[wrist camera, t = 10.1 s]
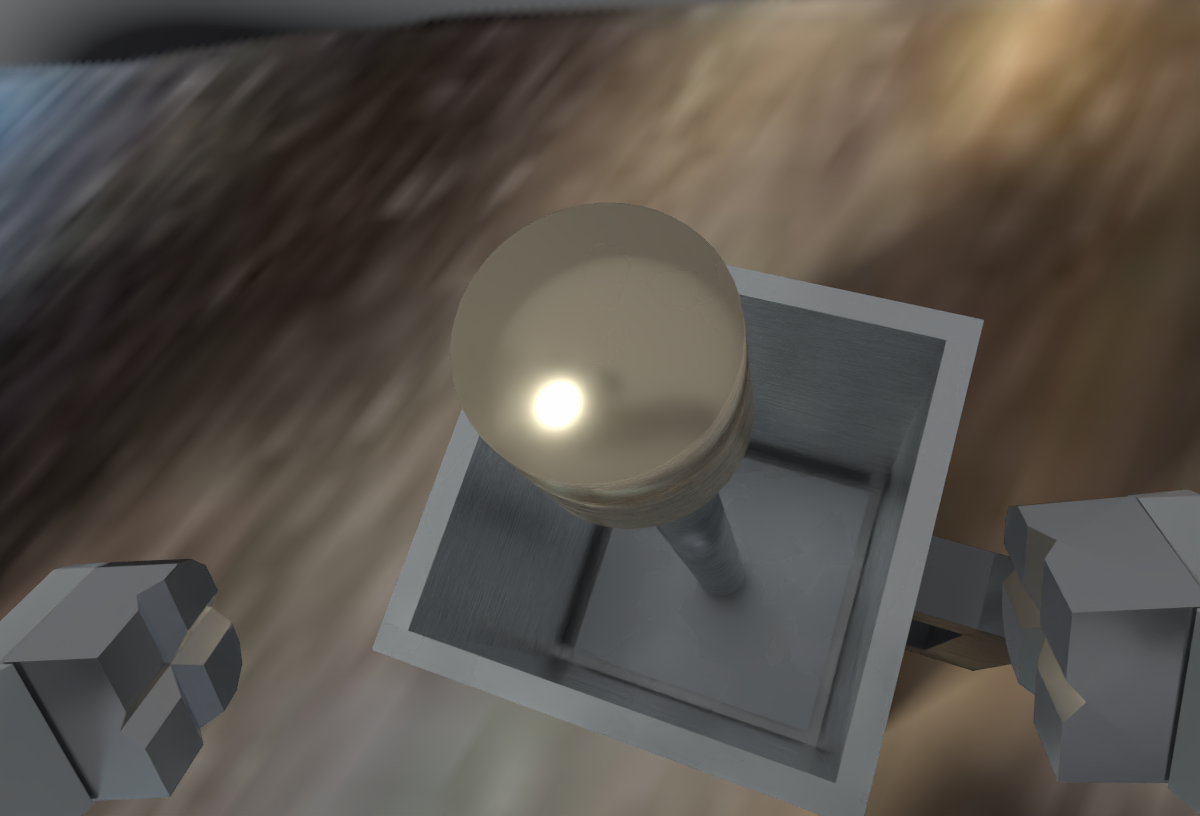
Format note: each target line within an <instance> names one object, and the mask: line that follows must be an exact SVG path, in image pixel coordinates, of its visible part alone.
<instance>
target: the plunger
mask: <svg viewBox="0 0 1200 816" xmlns="http://www.w3.org/2000/svg"><path fill="white" fill-rule="evenodd" d="M450 361H451V372H452V378H453V382H454V387H455V391H456V394H457V396H458V399H459V402H460V404H461V407H462V409H463V411H464V413H465V414H466V416H467V418H468V420H469V422H470V423H471V425H472V426H473V427H474V429H475V430H476V431H477V433H478V434H479V435H480V437H481V438H482V439H483V440H484V441H485V442H486V443H487V444H488V445H489V446H490V447H491V448H492V449H493V450H494V451H495V452H497V453H498V454H499V455H500V456H501V457H503V458H504V459H505V460H506V461H507V462H508V463H510V464H511V465H512V466H513V467H514V468H516V469H517V470H518V471H519V472H520V473H521V474H523V475H524V476H525V477H526V478H527V479H529V480H530V481H531V482H532V483H533V484H534V485H536V486H537V487H538V488H539V489H540V490H541V491H543V492H544V493H545V494H546V495H547V496H549V497H550V498H551V499H552V500H553V501H554V502H556V503H557V504H558V505H560V506H561V507H562V508H564V509H565V510H567V511H568V512H570V513H572V514H574V515H575V516H577V517H579V518H581V519H584V520H586V521H589V522H592V523H594V524H598V525H602V526H606V527H611V528H613V530H612V533H611V536H610V540H609V543H608V546H607V549H606V552H605V555H604V558H603V561H602V564H601V567H600V570H599V573H598V577H597V580H596V583H595V586H594V589H593V592H592V595H591V598H590V601H589V604H588V607H587V611H586V614H585V617H584V620H583V623H582V626H581V629H580V632H579V635H578V638H577V641H576V644H575V648H574V651H575V652H578V653H580V654H583V655H586V656H589V657H592V658H595V659H598V660H601V661H604V662H607V663H609V664H612V665H615V666H618V667H621V668H624V669H627V670H630V671H633V672H636V673H638V674H641V675H644V676H647V677H650V678H653V679H656V680H659V681H662V682H665V683H667V684H670V685H673V686H676V687H679V688H682V689H685V690H688V691H691V692H694V693H696V694H699V695H702V696H705V697H708V698H711V699H714V700H717V701H720V702H723V703H725V704H728V705H731V706H734V707H737V708H740V709H743V710H746V711H749V712H752V713H754V714H757V715H760V716H763V717H766V718H769V719H772V720H775V721H778V722H781V723H783V724H786V725H789V726H792V727H795V728H798V729H801V730H804V731H807V732H808V729H809V725H810V721H811V718H812V714H813V710H814V706H815V702H816V698H817V695H818V691H819V687H820V683H821V679H822V675H823V671H824V668H825V664H826V660H827V656H828V652H829V648H830V645H831V641H832V637H833V633H834V629H835V625H836V621H837V618H838V614H839V610H840V606H841V602H842V598H843V595H844V591H845V587H846V583H847V579H848V575H849V572H850V568H851V564H852V560H853V556H854V552H855V548H856V545H857V541H858V537H859V533H860V529H861V525H862V522H863V518H864V514H865V510H866V506H867V502H868V498H869V495H870V492H867V491H863V490H860V489H856V488H852V487H849V486H845V485H841V484H838V483H834V482H830V481H826V480H823V479H819V478H815V477H812V476H808V475H804V474H800V473H797V472H793V471H789V470H786V469H782V468H778V467H774V466H771V465H767V464H763V463H760V462H756V461H752V460H748V459H745V458H743V457H744V455H745V452H746V449H747V447H748V444H749V441H750V437H751V433H752V428H753V421H754V395H753V387H752V379H751V371H750V363H749V355H748V347H747V339H746V331H745V323H744V315H743V310H742V305H741V300H740V296H739V293H738V290H737V288H736V285H735V282H734V279H733V278H732V276H731V274H730V272H729V270H728V268H727V266H726V264H725V263H724V262H723V260H722V259H721V257H720V256H719V255H718V253H717V252H716V251H715V249H714V248H713V247H712V246H711V245H710V244H709V243H708V242H707V241H706V240H705V239H704V238H703V237H702V236H701V235H699V234H698V233H697V232H695V231H694V230H693V229H691V228H690V227H689V226H687V225H686V224H684V223H682V222H680V221H679V220H677V219H675V218H673V217H671V216H669V215H667V214H664V213H662V212H659V211H657V210H654V209H650V208H646V207H642V206H639V205H631V204H624V203H594V204H585V205H580V206H575V207H571V208H566V209H563V210H560V211H557V212H555V213H552V214H549V215H547V216H544V217H542V218H540V219H538V220H536V221H534V222H532V223H530V224H529V225H527V226H525V227H524V228H522V229H521V230H519V231H517V232H516V233H515V234H513V235H512V236H511V237H510V238H508V239H507V240H506V241H505V242H503V243H502V244H501V245H500V246H499V247H498V248H497V249H496V250H495V251H494V252H493V253H492V254H491V255H490V256H489V257H488V258H487V259H486V261H485V262H484V263H483V264H482V266H481V267H480V268H479V269H478V271H477V272H476V274H475V275H474V277H473V279H472V280H471V282H470V283H469V285H468V287H467V289H466V291H465V293H464V295H463V297H462V300H461V302H460V304H459V307H458V310H457V313H456V317H455V320H454V325H453V330H452V336H451V348H450Z"/></svg>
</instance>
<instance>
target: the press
mask: <svg viewBox="0 0 1200 816" xmlns="http://www.w3.org/2000/svg"><path fill="white" fill-rule="evenodd" d="M726 266H727V268H728V270H729V272H730V274H731V276H732V278H733V279H734V282H735V285H736V288H737V290H738V293H739V296H740V300H741V305H742V310H743V315H744V323H745V331H746V339H747V347H748V355H749V363H750V371H751V379H752V387H753V395H754V421H753V428H752V433H751V437H750V441H749V444H748V447H747V449H746V452H745V455H744V457H743V458H745V459H748V460H752V461H756V462H760V463H763V464H767V465H771V466H774V467H778V468H782V469H786V470H789V471H793V472H797V473H800V474H804V475H808V476H812V477H815V478H819V479H823V480H826V481H830V482H834V483H838V484H841V485H845V486H849V487H852V488H856V489H860V490H863V491H867V492H870V495H869V498H868V502H867V506H866V510H865V514H864V518H863V522H862V525H861V529H860V533H859V537H858V541H857V545H856V548H855V552H854V556H853V560H852V564H851V568H850V572H849V575H848V579H847V583H846V587H845V591H844V595H843V598H842V602H841V606H840V610H839V614H838V618H837V621H836V625H835V629H834V633H833V637H832V641H831V645H830V648H829V652H828V656H827V660H826V664H825V668H824V671H823V675H822V679H821V683H820V687H819V691H818V695H817V698H816V702H815V706H814V710H813V714H812V718H811V721H810V725H809V729H808V732H807V731H804V730H801V729H798V728H795V727H792V726H789V725H786V724H783V723H781V722H778V721H775V720H772V719H769V718H766V717H763V716H760V715H757V714H754V713H752V712H749V711H746V710H743V709H740V708H737V707H734V706H731V705H728V704H725V703H723V702H720V701H717V700H714V699H711V698H708V697H705V696H702V695H699V694H696V693H694V692H691V691H688V690H685V689H682V688H679V687H676V686H673V685H670V684H667V683H665V682H662V681H659V680H656V679H653V678H650V677H647V676H644V675H641V674H638V673H636V672H633V671H630V670H627V669H624V668H621V667H618V666H615V665H612V664H609V663H607V662H604V661H601V660H598V659H595V658H592V657H589V656H586V655H583V654H580V653H578V652H575V651H574V648H575V644H576V641H577V638H578V635H579V632H580V629H581V626H582V623H583V620H584V617H585V614H586V611H587V607H588V604H589V601H590V598H591V595H592V592H593V589H594V586H595V583H596V580H597V577H598V573H599V570H600V567H601V564H602V561H603V558H604V555H605V552H606V549H607V546H608V543H609V540H610V536H611V533H612V530H613V528H611V527H606V526H602V525H598V524H594V523H592V522H589V521H586V520H584V519H581V518H579V517H577V516H575V515H574V514H572V513H570V512H568V511H567V510H565V509H564V508H562V507H561V506H560V505H558V504H557V503H556V502H554V501H553V500H552V499H551V498H550V497H549V496H547V495H546V494H545V493H544V492H543V491H541V490H540V489H539V488H538V487H537V486H536V485H534V484H533V483H532V482H531V481H530V480H529V479H527V478H526V477H525V476H524V475H523V474H521V473H520V472H519V471H518V470H517V469H516V468H514V467H513V466H512V465H511V464H510V463H508V462H507V461H506V460H505V459H504V458H503V457H501V456H500V455H499V454H498V453H497V452H495V451H494V450H493V449H492V448H491V447H490V446H489V445H488V444H487V443H486V442H485V441H484V440H483V439H482V438H481V437H480V435H479V434H478V433H477V431H476V430H475V429H474V427H473V426H472V425H471V423H470V422H469V420H468V418H467V416H466V414H465V413H464V411H463V409H462V411H461V413H460V416H459V419H458V421H457V424H456V427H455V429H454V432H453V435H452V437H451V440H450V443H449V445H448V448H447V451H446V453H445V456H444V459H443V461H442V464H441V467H440V469H439V472H438V475H437V477H436V480H435V483H434V485H433V488H432V491H431V493H430V496H429V499H428V501H427V504H426V507H425V510H424V512H423V515H422V518H421V520H420V523H419V526H418V528H417V531H416V534H415V536H414V539H413V542H412V544H411V547H410V550H409V552H408V555H407V558H406V560H405V563H404V566H403V568H402V571H401V574H400V576H399V579H398V582H397V584H396V587H395V590H394V592H393V595H392V598H391V600H390V603H389V606H388V608H387V611H386V614H385V616H384V619H383V622H382V624H381V627H380V630H379V632H378V635H377V638H376V640H375V643H374V646H373V648H372V650H374V651H376V652H379V653H382V654H385V655H387V656H390V657H393V658H395V659H398V660H401V661H404V662H406V663H409V664H412V665H414V666H417V667H420V668H423V669H425V670H428V671H431V672H433V673H436V674H439V675H442V676H444V677H447V678H450V679H453V680H455V681H458V682H461V683H463V684H466V685H469V686H472V687H474V688H477V689H480V690H482V691H485V692H488V693H491V694H493V695H496V696H499V697H501V698H504V699H507V700H510V701H512V702H515V703H518V704H520V705H523V706H526V707H529V708H531V709H534V710H537V711H540V712H542V713H545V714H548V715H550V716H553V717H556V718H559V719H561V720H564V721H567V722H569V723H572V724H575V725H578V726H580V727H583V728H586V729H588V730H591V731H594V732H597V733H599V734H602V735H605V736H607V737H610V738H613V739H616V740H618V741H621V742H624V743H626V744H629V745H632V746H635V747H637V748H640V749H643V750H646V751H648V752H651V753H654V754H656V755H659V756H662V757H665V758H667V759H670V760H673V761H675V762H678V763H681V764H684V765H686V766H689V767H692V768H694V769H697V770H700V771H703V772H705V773H708V774H711V775H713V776H716V777H719V778H722V779H724V780H727V781H730V782H732V783H735V784H738V785H741V786H743V787H746V788H749V789H752V790H754V791H757V792H760V793H762V794H765V795H768V796H771V797H773V798H776V799H779V800H781V801H784V802H787V803H790V804H792V805H795V806H798V807H800V808H803V809H806V810H809V811H811V812H814V813H817V814H819V815H822V816H865V811H866V807H867V803H868V799H869V795H870V791H871V787H872V782H873V778H874V774H875V770H876V766H877V762H878V758H879V753H880V749H881V745H882V741H883V737H884V733H885V729H886V724H887V720H888V716H889V712H890V708H891V704H892V699H893V695H894V691H895V687H896V683H897V679H898V675H899V670H900V666H901V662H902V658H903V654H904V650H908V651H911V652H914V653H918V654H921V655H924V656H927V657H931V658H934V659H937V660H940V661H943V662H947V663H950V664H953V665H956V666H959V667H963V668H966V669H969V670H972V671H975V670H980V669H986V668H992V667H997V666H1003V665H1009V664H1011V660H1010V656H1009V653H1008V649H1007V645H1006V641H1005V632H1004V624H1003V615H1002V583H1003V582H1004V581H1005V579H1006V578H1007V577H1008V576H1009V575H1010V574H1011V573H1012V572H1013V571H1014V569H1015V567H1014V565H1013V563H1012V560H1011V558H1010V557H1008V556H1005V555H1001V554H997V553H994V552H990V551H987V550H983V549H979V548H976V547H972V546H969V545H965V544H961V543H958V542H954V541H951V540H947V539H943V538H940V537H936V536H933V535H932V534H933V530H934V525H935V521H936V517H937V513H938V509H939V505H940V501H941V496H942V492H943V488H944V484H945V480H946V476H947V472H948V467H949V463H950V459H951V455H952V451H953V447H954V443H955V438H956V434H957V430H958V426H959V422H960V418H961V414H962V409H963V405H964V401H965V397H966V393H967V389H968V385H969V380H970V376H971V372H972V368H973V364H974V360H975V356H976V351H977V347H978V343H979V339H980V335H981V331H982V327H983V322H984V320H982V319H978V318H973V317H968V316H964V315H959V314H954V313H949V312H945V311H940V310H935V309H931V308H926V307H921V306H917V305H912V304H907V303H902V302H898V301H893V300H888V299H884V298H879V297H874V296H870V295H865V294H860V293H856V292H851V291H846V290H841V289H837V288H832V287H827V286H823V285H818V284H813V283H809V282H804V281H799V280H794V279H790V278H785V277H780V276H776V275H771V274H766V273H762V272H757V271H752V270H747V269H743V268H738V267H733V266H729V265H726Z"/></svg>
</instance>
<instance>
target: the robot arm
mask: <svg viewBox="0 0 1200 816" xmlns="http://www.w3.org/2000/svg"><path fill="white" fill-rule="evenodd" d="M1004 544H1005V547H1006V549H1007V551H1008V554H1009V556H1010V558H1011V560H1012V563H1013V565H1014V567H1015V569H1014V571H1013V572H1012V573H1011V574H1010V575H1009V576H1008V577H1007V578H1006V579H1005V581H1004V582H1003V583H1002V615H1003V624H1004V632H1005V641H1006V645H1007V649H1008V653H1009V656H1010V660H1011V664H1012V666H1013V669H1014V672H1015V675H1016V677H1017V680H1018V683H1019V684H1020V685H1021V686H1023V687H1024V688H1026V689H1027V690H1028V691H1030V692H1031V693H1033V694H1034V695H1035V705H1034V724H1035V726H1036V729H1037V731H1038V734H1039V736H1040V739H1041V741H1042V744H1043V746H1044V749H1045V751H1046V754H1047V756H1048V759H1049V761H1050V764H1051V766H1052V769H1053V771H1054V774H1055V776H1056V779H1057V781H1058V782H1101V783H1168V789H1170V790H1171V791H1172V792H1173V793H1174V794H1176V795H1177V796H1178V797H1179V798H1180V799H1182V800H1183V801H1184V802H1185V803H1186V804H1188V805H1189V806H1190V807H1191V808H1192V809H1193V810H1195V811H1196V812H1197V813H1198V814H1199V815H1200V494H1198V493H1195V492H1193V491H1191V490H1177V491H1167V492H1157V493H1147V494H1136V495H1128V496H1127V497H1114V498H1102V499H1090V500H1077V501H1065V502H1053V503H1041V504H1028V505H1016V506H1009V509H1008V513H1007V517H1006V520H1005V537H1004ZM217 591H218V589H217V587H216V585H215V583H214V581H213V579H212V577H211V575H210V573H209V571H208V569H207V567H206V565H204V564H202V563H199V562H197V561H195V560H193V559H174V560H151V561H128V562H111V563H89V564H76V565H69V566H65V567H62V568H58V569H54V570H53V571H52V572H51V573H50V574H49V575H48V576H47V577H46V578H45V579H44V580H43V581H42V582H41V583H39V584H38V585H37V586H36V587H35V588H34V589H33V590H32V591H31V592H30V593H29V594H28V595H27V596H26V597H25V598H24V599H23V600H22V601H21V602H20V603H19V604H18V605H17V606H16V607H15V608H13V609H12V610H11V611H10V612H9V613H8V614H7V615H6V616H5V617H4V618H3V619H2V620H1V621H0V816H81V815H82V814H84V813H85V812H86V811H87V810H88V809H89V808H91V807H92V806H93V804H94V803H93V802H92V801H98V800H119V799H140V798H161V797H170V796H171V795H172V793H173V792H174V790H175V788H176V787H177V785H178V784H179V782H180V781H181V779H182V777H183V776H184V774H185V773H186V771H187V769H188V768H189V766H190V765H191V763H192V762H193V760H194V758H195V757H196V755H197V754H198V752H199V751H200V749H201V747H202V746H203V740H202V735H201V729H200V728H201V727H203V726H204V725H206V724H207V723H208V722H210V721H211V720H213V719H214V718H215V717H217V716H218V715H220V714H221V713H222V712H224V711H225V709H226V707H227V706H228V704H229V702H230V700H231V699H232V697H233V695H234V694H235V692H236V690H237V686H238V681H239V677H240V672H241V667H242V657H241V649H240V642H239V639H238V637H237V634H236V632H235V629H234V627H233V624H232V623H231V622H230V621H229V620H227V619H226V618H225V617H224V616H222V615H221V614H220V613H218V612H217V611H216V610H215V609H213V608H212V606H213V603H214V600H215V597H216V594H217Z"/></svg>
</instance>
